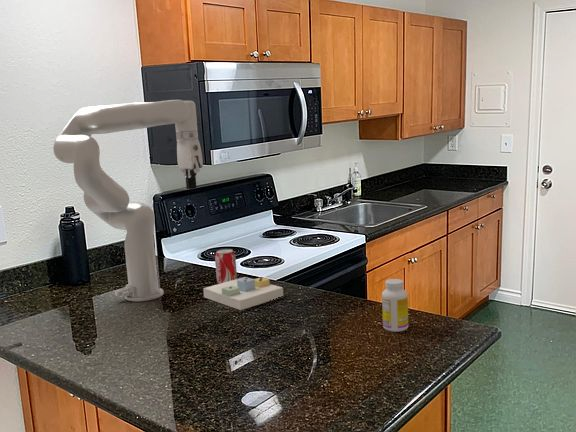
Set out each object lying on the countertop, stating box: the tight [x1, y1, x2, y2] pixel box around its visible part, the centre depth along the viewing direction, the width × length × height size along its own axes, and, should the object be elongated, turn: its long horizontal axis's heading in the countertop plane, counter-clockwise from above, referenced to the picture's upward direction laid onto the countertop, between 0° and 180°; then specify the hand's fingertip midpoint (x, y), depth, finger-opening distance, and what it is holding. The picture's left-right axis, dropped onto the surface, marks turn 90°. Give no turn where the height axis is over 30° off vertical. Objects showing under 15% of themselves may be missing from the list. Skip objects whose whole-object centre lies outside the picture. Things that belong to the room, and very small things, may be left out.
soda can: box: [214, 248, 238, 284], centre depth 204 cm, size 7×7×12 cm
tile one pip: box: [222, 286, 240, 297], centre depth 184 cm, size 4×4×4 cm
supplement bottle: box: [381, 278, 409, 333], centre depth 154 cm, size 7×7×13 cm
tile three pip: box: [253, 276, 271, 288], centre depth 191 cm, size 4×4×4 cm
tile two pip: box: [237, 277, 255, 292], centre depth 187 cm, size 4×4×4 cm
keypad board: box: [203, 276, 284, 311], centre depth 189 cm, size 17×20×3 cm
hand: (191, 188), depth 209 cm, fingers closed
